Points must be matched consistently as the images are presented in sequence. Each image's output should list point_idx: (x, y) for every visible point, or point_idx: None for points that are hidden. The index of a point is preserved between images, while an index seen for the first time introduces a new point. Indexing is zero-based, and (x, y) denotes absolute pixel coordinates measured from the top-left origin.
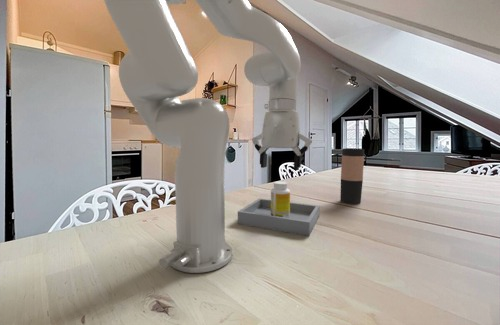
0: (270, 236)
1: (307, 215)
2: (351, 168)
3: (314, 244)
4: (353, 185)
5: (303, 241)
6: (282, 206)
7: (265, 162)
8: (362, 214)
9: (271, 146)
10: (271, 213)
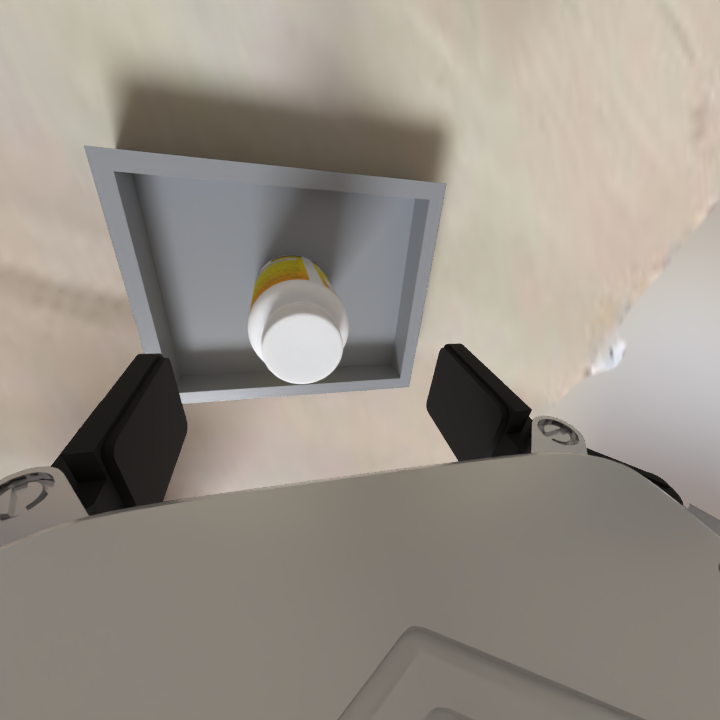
0: (262, 85)
1: (202, 348)
2: None
3: (45, 51)
4: None
5: (109, 74)
6: (272, 270)
7: (447, 404)
8: None
9: (476, 463)
10: (321, 269)
